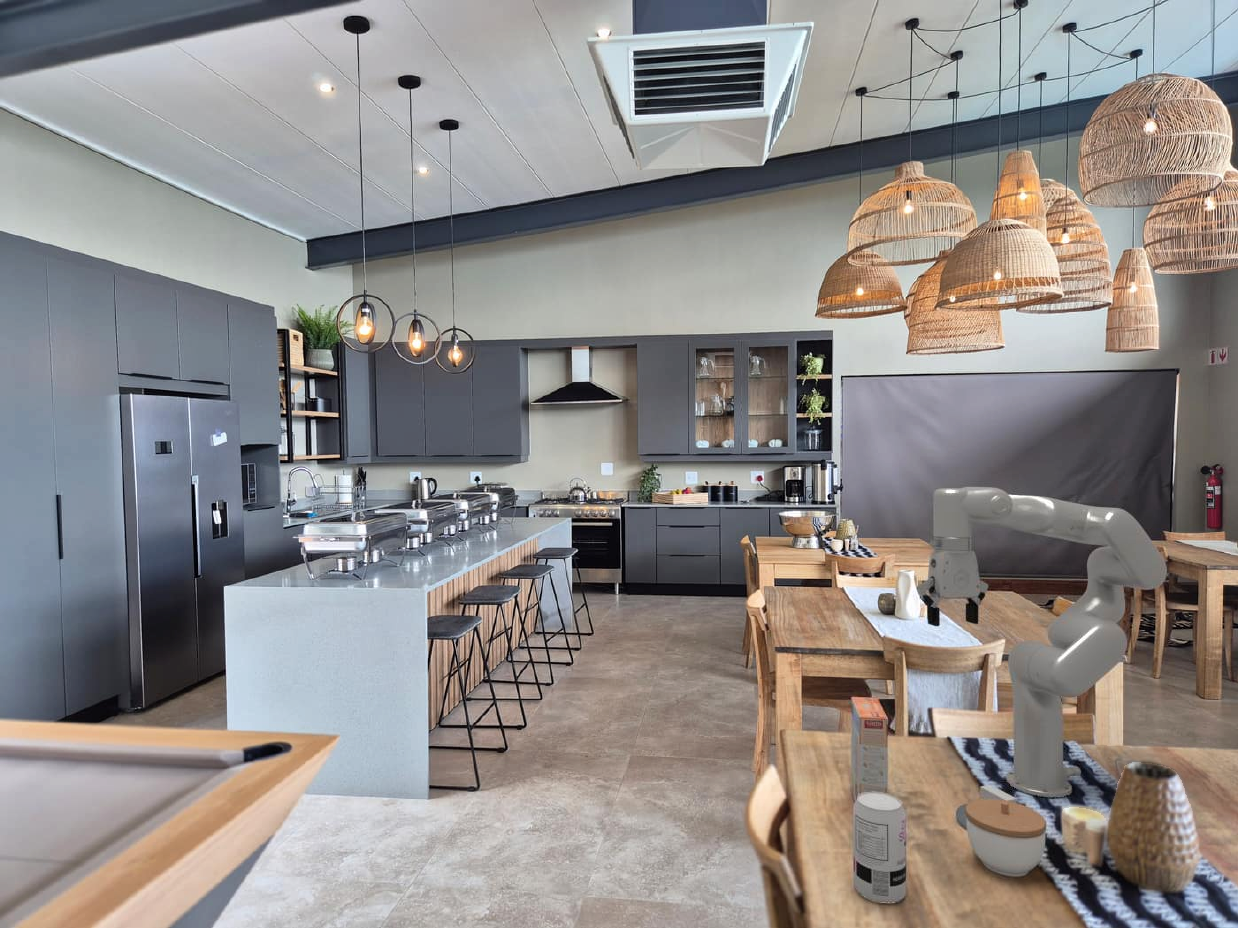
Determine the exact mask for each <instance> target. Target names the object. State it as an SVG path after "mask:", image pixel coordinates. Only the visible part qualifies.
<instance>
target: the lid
mask: <svg viewBox="0 0 1238 928" xmlns="http://www.w3.org/2000/svg"><path fill="white" fill-rule="evenodd" d="M979 797H980V798H981V799H998V800H1005V801H1010V802H1014V803H1018V799H1017V798H1016V797H1014V796H1012V795H1011V794H1009V793H1006V792H1005V791H1002V790H1000V789H999V788H997V787H996V786H994V785H992V784H987V785H982V786H980V787H979ZM967 804H968V803H964V804H962V805H960V806H958V807H957V809H956V810H955V821H956V823H957V824H958V825H959V826H960V827H961V828H963V830H965V831H967V822H966V805H967Z"/></svg>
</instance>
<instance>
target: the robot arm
mask: <svg viewBox="0 0 1238 928" xmlns="http://www.w3.org/2000/svg"><path fill="white" fill-rule="evenodd" d="M932 499H933V501H932V502H933V516H932V517H933V519H932V520H933V522H932V523H933V540H932V539H931V540H930V541H929V545H930V547H933V550H931V553H930V556H929V562H928V571H927V572H928V574H927V579H926V580H924V581H923V582H921V583H920V584H918V585H917V586H916V587H915V588H916V589H915V590H916V591H917V594H918V595H919V599H920V600H921V601H922V603H923V604H924V606H926V619H927V624H928V625H931V626H934V627H940V625H941V621H940V620H941V619H940V618H941V617H940V615H941V613H940V607H938V605H939V604H940V602H941V601H942V600H943V599H945V600H956V599H957V600H958V599H963V600H964V599H965V600H966V602H967V603H965V622H967V623H970V624H974V625H978V624H979V606H981V605H982V601H983V600H984V599H985V597H986V594H987V590H988V588H989V584H988V583H986V582H985V581H983V580H982V579H980V573H979V566H978V559H977V555H976V553H975V551H973V550H972V522H974V523H975V522H976V523H980V524H986V525H991V526H996V527H1001V528H1006V529H1011V530H1015V531H1019V532H1023V533H1026V534H1028V533H1029V534H1033V535H1040V536H1045V537H1050V538H1055V539H1061V540H1065V541H1070V542H1074V543H1079V544H1086V545H1095V546H1101V547H1097V548H1096V549H1094V550H1093V551H1092V552H1091V553H1090V554H1089V556H1088V559H1087V563H1086V569H1087V570H1086V571H1087V586H1086V590H1085V591H1084V593H1083V595H1081V596H1080V597H1079V598H1078V599H1077V600H1076V601H1075V602H1074V603H1073V604H1071V605H1070V606H1069V607H1067V608H1066V609H1065V611H1063V612H1062V613H1061V614H1060V615H1059V616H1058V617H1056V618H1055V619H1054V620H1053V621H1052V622H1051V624H1050V625H1049V627H1048V629H1047V639H1048V641H1049V643H1050V644H1049V643H1045V642H1041V641H1037V640H1022V641H1020V642H1018V643H1016V644H1014V646H1013V647H1011V649H1010V651H1009V654H1008V659H1007V660H1008V661H1007V665H1008V671H1009V676H1010V680H1011V686H1012V697H1013V701H1012V702H1013V703H1012V704H1013V714H1012V715H1013V716H1012V718H1013V770H1010V771H1009V772H1007V774H1006V775H1005V776H1006V777H1005V780H1007V781H1006V783H1007V782H1008V783H1009V784H1010V785H1009V784H1008V783H1007V784H1008V785H1009V786H1011V787H1012V788H1013V787H1014V788H1013V789H1015V788H1016V789H1015V790H1017V789H1018V791H1019V792H1022V791H1023V792H1022V793H1026V794H1029V795H1032V796H1036V795H1037V797H1042V796H1043V797H1042V798H1053V797H1055V798H1056V797H1057V798H1064V796H1065V797H1067V796H1066V795H1068V796H1070V795H1071V794H1072V793H1073V788H1072V787H1073V786H1072V785H1071V783H1070V782H1069V781H1068V779H1069V778H1070V777H1078V776H1081V774H1082V771H1081V768H1080V767H1078V766H1069V767H1067V766H1066V765H1065V764H1064V737H1063V736H1064V727H1063V726H1064V721H1063V720H1064V712H1063V711H1064V709H1063V703H1062V699H1061V698H1076V697H1079V696H1081V695H1083V694H1084V693H1086V692H1087V691H1089V689H1091V688H1092V687H1093V686H1094V685H1096V684H1097V683H1098V682H1099V681H1100V680H1101V679H1102V678H1104V677H1105V676H1106V675H1107V674H1108V673H1109V672H1111V670H1112V669H1114V668H1115V667H1116V666H1117V665H1118V664H1119V663H1120V662H1121V661H1122V659H1123V657H1124V656H1125V653H1126V651H1127V647H1128V641H1127V640H1128V638H1127V635H1126V633H1125V631H1124V629H1123V628H1122V627H1121V626H1119V624H1117V623H1119V621H1121V619H1122V618H1123V616H1124V614H1125V612H1126V599H1125V592H1124V591H1125V590H1124V587H1125V588H1131V589H1137V590H1147V591H1148V590H1154V589H1156V588H1159V587H1160V586H1161V585H1163V583H1165V580H1166V578H1167V574H1168V569H1167V563H1166V561H1165V559H1164V557H1163V555H1162V554H1161V552H1160V551H1159V548H1158V547H1157V546H1156V545H1155V544H1154V542H1153V540H1152V539H1151V538H1150V537H1149V535H1148V534H1147V532H1146V531H1145V529H1144V528H1143V526H1142V525H1141V524H1140V523H1139V521H1137V520H1136V518H1135V517H1134V516H1133V515H1132V514H1131V513H1129V512H1128V511H1126V510H1125V509H1122V508H1119V507H1105V506H1104V507H1103V506H1093V505H1087V504H1081V503H1076V502H1071V501H1066V500H1061V499H1056V498H1052V497H1048V496H1037V495H1019V494H1008V492H1006V491H1005V490H1004V489H1001V488H998V487H992V486H991V487H988V486H965V487H961V488H959V487H957V488H955V487H954V488H953V487H951V488H949V487H947V488H946V487H945V488H938V489H936V490H935V491H934V492H933V498H932ZM927 590H928V592H927Z"/></svg>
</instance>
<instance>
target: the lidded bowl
mask: <svg viewBox="0 0 1238 928" xmlns="http://www.w3.org/2000/svg"><path fill="white" fill-rule="evenodd" d="M966 804H967V805H966V822H967V830H966V832H967V838H968V839H969V840H968V841H969V844H970V846H971V849H972V850H973V852H974V853H975V855H976V856H977V857H978V859H979V860H980V861H981V862H982V863H983V866H985V868H987V869H988V870H989V871H991V872H994V873H995V874H998V875H1002V876H1004V877H1005V876H1006V877H1010V878H1011V877H1012V878H1013V877H1014V878H1017V877H1019V878H1020V877H1024V876H1025V877H1026V875H1028V874H1029V872H1030V871H1031V870H1033V869H1035V868H1036V867H1037V865H1038V864H1039V863H1040V862H1041V859H1042V858H1043V854H1044V851H1045V845H1046V831H1047V821H1046V819H1045V818H1044V816H1043V815H1042V814H1041V813H1039V812H1038V811H1036V810H1035V809H1033V808H1031V807H1028V806H1026V805H1023V804H1021V803H1018V802H1017V803H1014V802H1010V801H1005V800H998V799H984V798H979V799H975V800H972V801H970V802H967V803H966Z"/></svg>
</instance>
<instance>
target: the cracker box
mask: <svg viewBox="0 0 1238 928" xmlns="http://www.w3.org/2000/svg"><path fill="white" fill-rule="evenodd" d="M850 699H851V702H850V703H851V707H850V708H851V710H850V711H851V712H850V713H851V715H850V716H851V722H850V723H851V724H850V725H851V729H850V730H851V732H850V733H851V736H850V737H851V744H850V745H851V750H850V752H851V754H850V755H851V758H850V761H851V763H850V764H851V765H850V766H851V767H850V768H851V769H850V771H851V773H850V778H851V779H850V794H851V796H852V801H853V803H855V801H856V800H857V797H858V795H859V794H861V793H864V792H882V793H886V794H889V792H888V786H889V785H888V782H889V781H888V780H889V779H888V777H889V776H888V775H889V774H888V771H889V770H888V769H889V768H888V767H889V766H888V764H889V763H888V761H889V760H888V759H889V758H888V757H889V755H888V754H889V753H888V752H889V750H888V749H889V748H888V747H889V743H888V742H889V718H888V716H887V715H886V713H885V711H884V709H883V706H882V704H881V702H880V700H879V698H876V697H863V696H862V697H859V696H851V698H850Z"/></svg>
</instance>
